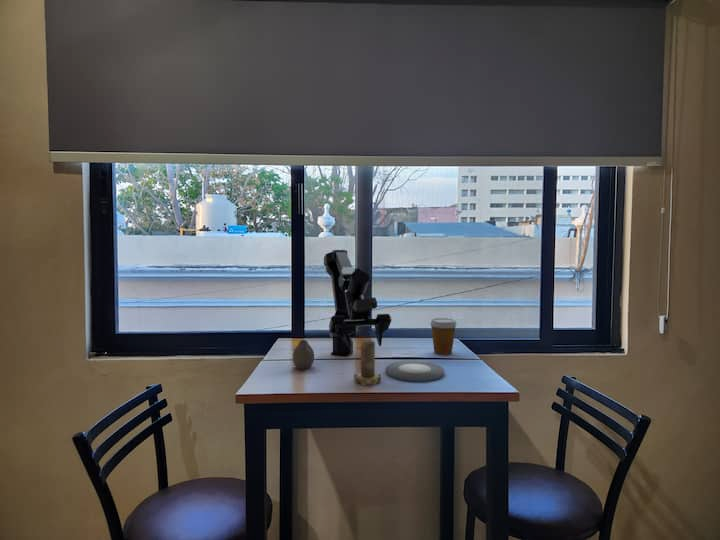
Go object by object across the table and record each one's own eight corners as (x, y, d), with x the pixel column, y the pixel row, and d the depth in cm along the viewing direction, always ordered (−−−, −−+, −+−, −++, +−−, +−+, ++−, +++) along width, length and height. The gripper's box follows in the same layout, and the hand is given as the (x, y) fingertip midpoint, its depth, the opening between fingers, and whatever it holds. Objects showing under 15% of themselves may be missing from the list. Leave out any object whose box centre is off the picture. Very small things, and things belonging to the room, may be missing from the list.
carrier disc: (378, 377, 137) (378, 373, 137) (394, 362, 154) (394, 358, 154) (438, 384, 131) (438, 379, 131) (448, 367, 148) (448, 363, 148)
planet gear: (350, 383, 132) (350, 344, 131) (359, 375, 139) (359, 338, 138) (376, 386, 129) (376, 346, 128) (384, 378, 136) (385, 340, 136)
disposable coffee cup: (445, 357, 161) (445, 323, 160) (424, 352, 168) (424, 320, 167) (461, 353, 167) (462, 320, 166) (440, 348, 174) (441, 317, 173)
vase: (317, 365, 150) (317, 339, 149) (308, 371, 143) (308, 344, 143) (298, 363, 152) (298, 337, 151) (288, 369, 146) (288, 342, 145)
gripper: (330, 289, 137) (339, 332, 127) (389, 287, 142) (402, 329, 132) (325, 311, 145) (333, 354, 135) (381, 309, 150) (392, 350, 140)
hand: (365, 346), depth 136 cm, fingers open, 9 cm apart
